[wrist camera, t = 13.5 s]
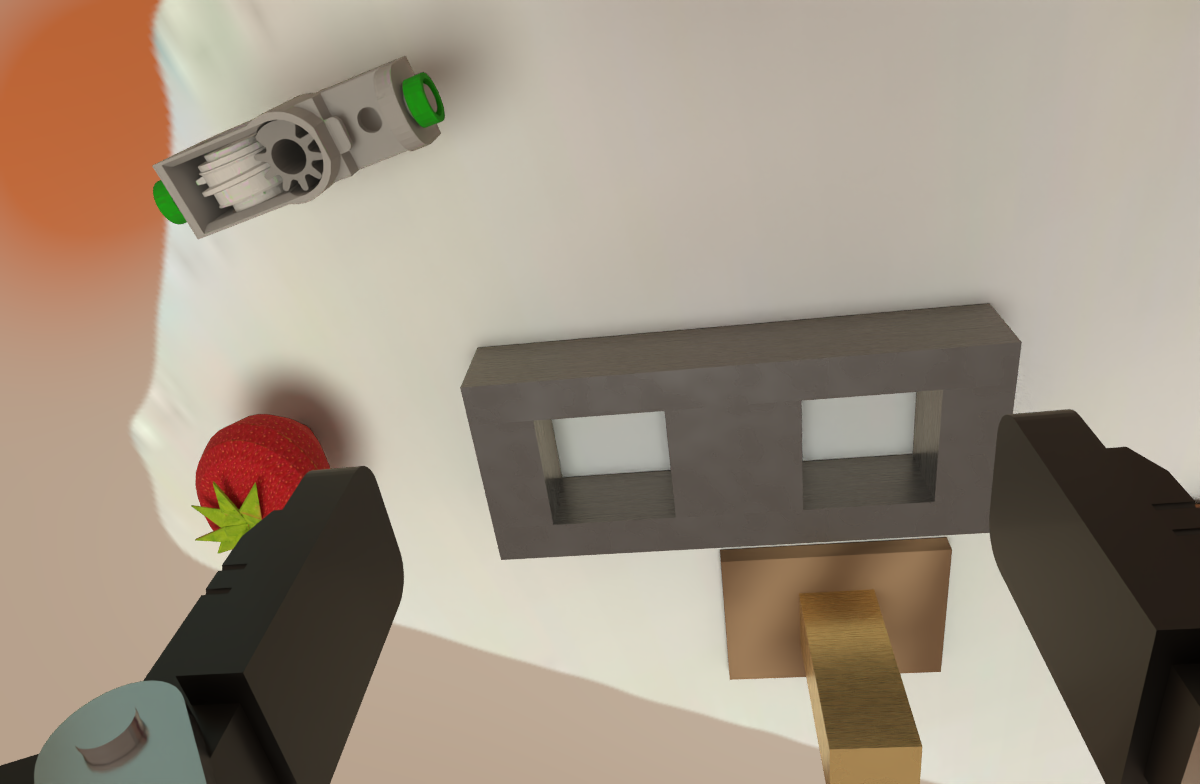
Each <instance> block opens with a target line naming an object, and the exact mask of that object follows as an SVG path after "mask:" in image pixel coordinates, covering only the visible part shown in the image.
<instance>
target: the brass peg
mask: <svg viewBox="0 0 1200 784" xmlns="http://www.w3.org/2000/svg"><path fill="white" fill-rule="evenodd" d="M799 608H800V641H801V651H802V656H803V662H804V667H805V673H806V678H807V683H808V689H809V694H810V700H811V705H812V711H813V716H814V722H815V727H816V733H817V738H818V743H819V749H820V754H821V760H822V765H823V771H824V776H825V781H826V784H920V772H921V758H922V744H921V741H920V737H919V734H918V731H917V728H916V724H915V721H914V718H913V715H912V711H911V708H910V705H909V702H908V698H907V695H906V692H905V688H904V685H903V682H902V679H901V675H900V672H899V669H898V666H897V662H896V659H895V656H894V653H893V649H892V646H891V643H890V640H889V636H888V633H887V630H886V627H885V623H884V620H883V617H882V614H881V610H880V607H879V604H878V601H877V597H876V594H875V591H874V589H871V590H853V591H835V592H816V593H799Z"/></svg>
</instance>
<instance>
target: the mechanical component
mask: <svg viewBox="0 0 1200 784" xmlns="http://www.w3.org/2000/svg"><path fill="white" fill-rule="evenodd" d="M444 118H445V112H444V107H443V103H442V100H441V97H440V95H439V92H438V90H437V88H436V86H435V85H434V83H433V81H432V80H431V78H430V77H429V76H428V75H427V74H426V73H424V72H422V73H419V74H417V75H414V73H413V71H412V69H411V66H410V64H409V62H408V60H407V58H406V56H404V57H401V58H399V59H396V60H394V61H391V62H389V63H386V64H384V65H381V66H379V67H377V68H374V69H372V70H369V71H367V72H365V73H362V74H360V75H358V76H355V77H353V78H350V79H348V80H346V81H343V82H341V83H338V84H336V85H334V86H331V87H329V88H325V89H322V90H321V91H319V92H317V93H308V94H303V95H300V96H297V97H295V98H293V99H291V100H289V101H287V102H285V103H283V104H281V105H279V106H277V107H275V108H273V109H271V110H269V111H267V112H265V113H263V114H261V115H259V116H257V117H256V118H254V119H253V120H250V121H248V122H245V123H243V124H241V125H238V126H236V127H234V128H231V129H229V130H227V131H224V132H222V133H220V134H217V135H215V136H213V137H211V138H209V139H206V140H204V141H202V142H200V143H198V144H196V145H194V146H192V147H190V148H188V149H186V150H184V151H181V152H179V153H177V154H175V155H173V156H171V157H169V158H167V159H165V160H163V161H161V162H159V163H157V164H155V165H153V168H154V169H155V171H156V173H157V174H158V176H159V177H160V179H161V180H160V181H158V182H157V183H155V185H154V187H153V194H154V199H155V202H156V204H157V206H158V208H159V210H160V211H161V213H162V214H163V215H164V216H165V217H166V218H167V219H168V220H169V221H171V222H173V223H175V224H184V223H186V222H188V224H189V226H190V227H191V229H192V231H193V232H194V234H195V235H196V237H197V239H200V238H203V237H206V236H208V235H211V234H213V233H216V232H218V231H221V230H224V229H226V228H229V227H231V226H234V225H237V224H239V223H242V222H244V221H247V220H249V219H252V218H255V217H257V216H260V215H262V214H265V213H267V212H270V211H273V210H275V209H278V208H280V207H283V206H286V205H288V204H301V203H306V202H309V201H311V200H313V199H315V198H316V197H317V196H319V195H320V194H321V193H323V192H324V191H325V190H326V189H327V188H329V187H330V186H331V185H332V184H333V183H335V182H337V181H339V180H342V179H344V178H347V177H350V176H352V175H353V174H354V173H356V172H357V171H358V170H359V169H362V168H364V167H367V166H370V165H372V164H375V163H377V162H380V161H382V160H385V159H387V158H390V157H393V156H395V155H398V154H400V153H403V152H405V151H408V150H409V151H414V150H417V149H419V148H422V147H424V146H427V145H429V144H431V143H432V142H433V141H434V140H435V139H436V138H437V137H438V136H439V135H440V134H441V132H440V130H439V128H438V126H437V123H439V122H442V121H443V120H444Z"/></svg>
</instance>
